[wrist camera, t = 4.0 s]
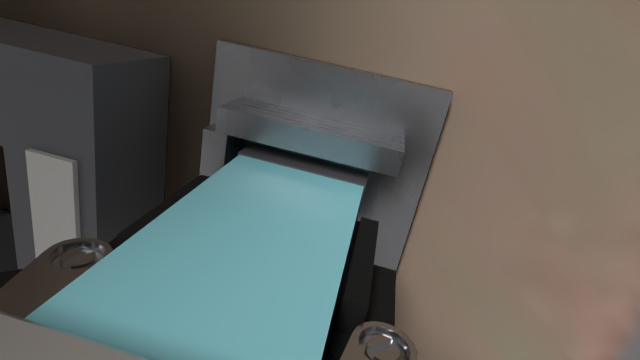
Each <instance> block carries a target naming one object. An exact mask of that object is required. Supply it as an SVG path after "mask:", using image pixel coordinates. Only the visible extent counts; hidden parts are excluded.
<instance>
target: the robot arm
mask: <svg viewBox="0 0 640 360" xmlns="http://www.w3.org/2000/svg"><path fill="white" fill-rule="evenodd" d="M208 178H209V176H205V175H200V176H198V177H197V178H196V179H194V180H193V181H191V182H190V183H189V184H187V185H186V186H184V187H183V188H182V189H180V190H179V191H177V192H176V193H175V194H173V195H172V196H170V197H169V198H168V199H166V200H165V201H163V202H162V203H160V204H159V205H158V206H156V207H155V208H153V209H152V210H151V211H149V212H148V213H146V214H145V215H144V216H142V217H141V218H139V219H138V220H137V221H135V222H134V223H132V224H131V225H130V226H128V227H127V228H125V229H124V230H123V231H121V232H120V233H118V234H117V237H116V238H114V239H113V240H111V241H110V242H109V243H107V242H105V241H103V240H99V239H96V238H73V239H69V240H64V241H61V242H59V243H56V244H54V245H52V246H51V247H49V248H48V249H46V250H45V251H44V252H43V253H41V254H40V255H39V256H38V257H37V258H36V259H34V260H33V261H32V262H31V263H30V264H28V265H27V266H26V267H25V268H24V269H18V270H12V271H6V272H0V360H152V359H149V358H146V357H143V356H140V355H137V354H134V353H131V352H128V351H124V350H121V349H118V348H115V347H112V346H109V345H106V344H103V343H100V342H96V341H93V340H90V339H87V338H84V337H81V336H78V335H75V334H71V333H68V332H65V331H62V330H59V329H56V328H52V327H49V326H46V325H43V324H40V323H37V322H33V321H30V320H27V319H24V318H25V317H27V316H28V315H29V314H31V313H32V312H33V311H34V310H36V309H37V308H38V307H40V306H41V305H42V304H44V303H45V302H46V301H48V300H49V299H50V298H52V297H53V296H54V295H56V294H57V293H58V292H59V291H61V290H62V289H63V288H65V287H66V286H67V285H69V284H70V283H71V282H73V281H74V280H75V279H77V278H78V277H79V276H80V275H82V274H83V273H84V272H86V271H87V270H88V269H90V268H91V267H92V266H94V265H95V264H96V263H98V262H99V261H100V260H101V259H103V258H104V257H105V256H107V255H108V254H109V253H111V252H112V251H113V250H115V249H116V248H117V247H119V246H120V245H121V244H123V243H124V242H125V241H126V240H128V239H129V238H130V237H132V236H133V235H134V234H136V233H137V232H138V231H140V230H141V229H142V228H144V227H145V226H146V225H147V224H149V223H150V222H151V221H153V220H154V219H155V218H157V217H158V216H159V215H161V214H162V213H163V212H165V211H166V210H167V209H169V208H170V207H171V206H172V205H174V204H175V203H176V202H178V201H179V200H180V199H182V198H183V197H184V196H186V195H187V194H188V193H190V192H191V191H192V190H193V189H195V188H196V187H197V186H199V185H200V184H201V183H203V182H204V181H205V180H207V179H208ZM378 226H379V221H375V220H371V219H368V218H364V217H361V220H360V221H357V220H356V221H355V225H354V229H353V233H352V237H351V241H350V245H349V249H348V253H347V257H346V261H345V265H344V269H343V274H342V278H341V282H340V286H339V290H338V294H337V298H336V302H335V306H334V310H333V314H332V318H331V322H330V326H329V330H328V335H327V339H326V343H325V347H324V351H323V355H322V359H321V360H417V350H416V348H415V345H414V343H413V342H412V341H411V339H410V338H409V337H408V336H407V335H406V334H405V333H404V332H402V331H401V330H400V329H398V328H396V327H394V321H395V284H396V271H395V270H392V269H388V268H385V267H381V266H378V265H374V259H375V251H376V243H377V234H378Z"/></svg>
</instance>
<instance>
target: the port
mask: <svg viewBox="0 0 640 360" xmlns="http://www.w3.org/2000/svg"><path fill="white" fill-rule="evenodd" d="M170 60H171V57H170V56H166V55H162V54H157V53H153V52H149V51H144V50H140V49H136V48H131V47H127V46H123V45H118V44H114V43H110V42H106V41H101V40H97V39H93V38H88V37H84V36H80V35H75V34H71V33H67V32H62V31H58V30H54V29H50V28H45V27H41V26H37V25H32V24H28V23H24V22H19V21H15V20H11V19H7V18H2V17H0V146H2V147H3V150H4V158H5V166H6V175H7V183H8V191H9V200H10V208H11V212H8V211H5V210H1V209H0V272H6V271H12V270H18V269H24V268H25V267H26V266H27V265H28V264H30V263H31V262H32V261H33V260H34V259H36V258H37V257H38V256H39V255H40V254H41V253H43V252H44V251H45V250H46V249H48V248H49V247H51V246H52V245H54V244H56V243H59V242H61V241H64V240H69V239H73V238H96V239H99V240H103V241H105V242H107V243H109V242H110V241H111V240H113V239H114V238H116V237H117V234H118V233H120V232H121V231H123V230H124V229H125V228H127V227H128V226H130V225H131V224H132V223H134V222H135V221H137V220H138V219H139V218H141V217H142V216H144V215H145V214H146V213H148V212H149V211H151V210H152V209H153V208H155V207H156V206H158V205H159V204H160V203H162V202H163V201H164V189H165V168H166V146H167V125H168V103H169V82H170Z"/></svg>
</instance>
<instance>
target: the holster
mask: <svg viewBox="0 0 640 360" xmlns="http://www.w3.org/2000/svg"><path fill="white" fill-rule="evenodd" d="M452 96H453V92H452V91H451V90H447V89H442V88H438V87H433V86H429V85H424V84H420V83H415V82H411V81H407V80H402V79H398V78H393V77H389V76H384V75H380V74H375V73H371V72H366V71H362V70H357V69H353V68H348V67H344V66H340V65H335V64H331V63H326V62H322V61H317V60H313V59H308V58H304V57H299V56H295V55H290V54H286V53H281V52H277V51H273V50H268V49H264V48H259V47H255V46H250V45H246V44H241V43H237V42H232V41H228V40H217V47H216V58H215V69H214V81H213V92H212V103H211V114H210V126H208V127H206V128H204V129H203V138H202V150H201V162H200V174H199V176H200V175H205V176H209V177H211V176H212V175H213V174H214V173H216V172H217V171H218V170H220V169H221V168H222V167H224V166H225V165H226V164H228V163H229V162H230V161H232V160H233V159H234V158H236V157H237V156H238V152H240V151H241V150H242V149H244V148H245V147H246V146H248V145H249V144H250V143H255V142H258V143H262V144H266V145H270V146H274V147H278V148H282V149H286V150H290V151H294V152H298V153H302V154H306V155H310V156H314V157H318V158H322V159H325V160H329V161H333V162H337V163H341V164H345V165H349V166H353V167H357V168H361V169H365V170H368V172H369V174H368V179H367V183H366V187H365V191H364V195H363V198H362V202H361V206H360V210H359V214H358V218H357V221H360V220H361V217H364V218H368V219H371V220H375V221H379V226H378V234H377V243H376V251H375V259H374V265H378V266H381V267H385V268H388V269H392V270H395V271H396V269H397V266H398V263H399V260H400V257H401V254H402V251H403V248H404V245H405V242H406V238H407V235H408V232H409V229H410V226H411V223H412V220H413V217H414V214H415V210H416V207H417V204H418V201H419V198H420V195H421V192H422V189H423V186H424V183H425V179H426V176H427V173H428V170H429V167H430V164H431V161H432V158H433V155H434V152H435V148H436V145H437V142H438V139H439V136H440V133H441V130H442V127H443V124H444V120H445V117H446V114H447V111H448V108H449V105H450V102H451V99H452Z"/></svg>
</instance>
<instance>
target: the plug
mask: <svg viewBox="0 0 640 360" xmlns="http://www.w3.org/2000/svg"><path fill="white" fill-rule="evenodd" d="M368 174H369V172H368V170H365V169H361V168H357V167H353V166H349V165H345V164H341V163H337V162H333V161H329V160H325V159H322V158H318V157H314V156H310V155H306V154H302V153H298V152H294V151H290V150H286V149H282V148H278V147H274V146H270V145H266V144H262V143H258V142H255V143H250V144H249V145H248V146H246V147H245V148H244V149H242V150H241V151H240V152H238V156H237V157H236V158H234V159H233V160H232V161H230V162H229V163H228V164H226V165H225V166H224V167H222V168H221V169H220V170H218V171H217V172H216V173H214V174H213V175H212V176H211V177H209V178H208V179H207V180H205V181H204V182H203V183H201V184H200V185H199V186H197V187H196V188H195V189H193V190H192V191H191V192H190V193H188V194H187V195H186V196H184V197H183V198H182V199H180V200H179V201H178V202H176V203H175V204H174V205H172V206H171V207H170V208H169V209H167V210H166V211H165V212H163V213H162V214H161V215H159V216H158V217H157V218H155V219H154V220H153V221H151V222H150V223H149V224H147V225H146V226H145V227H144V228H142V229H141V230H140V231H138V232H137V233H136V234H134V235H133V236H132V237H130V238H129V239H128V240H126V241H125V242H124V243H123V244H121V245H120V246H119V247H117V248H116V249H115V250H113V251H112V252H111V253H109V254H108V255H107V256H105V257H104V258H103V259H101V260H100V261H99V262H98V263H96V264H95V265H94V266H92V267H91V268H90V269H88V270H87V271H86V272H84V273H83V274H82V275H80V276H79V277H78V278H77V279H75V280H74V281H73V282H71V283H70V284H69V285H67V286H66V287H65V288H63V289H62V290H61V291H59V292H58V293H57V294H56V295H54V296H53V297H52V298H50V299H49V300H48V301H46V302H45V303H44V304H42V305H41V306H40V307H38V308H37V309H36V310H34V311H33V312H32V313H31V314H29V315H28V316H27V317H25V318H24V319H27V320H30V321H33V322H37V323H40V324H43V325H46V326H49V327H52V328H56V329H59V330H62V331H65V332H68V333H71V334H75V335H78V336H81V337H84V338H87V339H90V340H93V341H96V342H100V343H103V344H106V345H109V346H112V347H115V348H118V349H121V350H124V351H128V352H131V353H134V354H137V355H140V356H143V357H146V358H149V359H152V360H321V359H322V355H323V351H324V347H325V343H326V339H327V335H328V330H329V326H330V322H331V318H332V314H333V310H334V306H335V302H336V298H337V294H338V290H339V286H340V282H341V278H342V274H343V269H344V265H345V261H346V257H347V253H348V249H349V245H350V241H351V237H352V233H353V229H354V225H355V221H356V220H357V218H358V214H359V210H360V206H361V202H362V198H363V195H364V191H365V187H366V183H367V179H368Z"/></svg>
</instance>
